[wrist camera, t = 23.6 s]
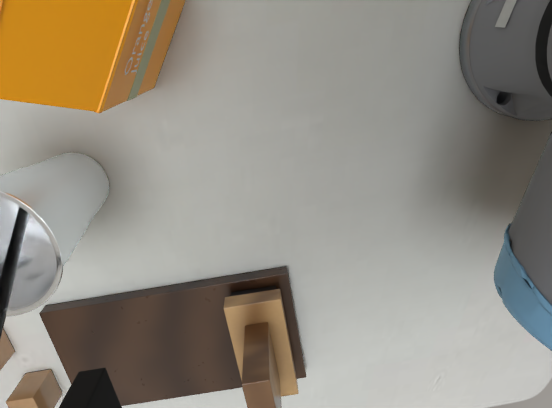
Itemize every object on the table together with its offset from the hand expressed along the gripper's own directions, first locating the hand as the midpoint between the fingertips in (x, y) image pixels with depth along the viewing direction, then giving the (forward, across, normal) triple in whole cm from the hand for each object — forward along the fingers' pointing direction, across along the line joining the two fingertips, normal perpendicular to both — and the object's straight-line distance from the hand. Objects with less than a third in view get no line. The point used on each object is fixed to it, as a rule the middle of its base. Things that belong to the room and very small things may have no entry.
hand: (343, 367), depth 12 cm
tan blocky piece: (+29, -33, -26) cm, 51 cm away
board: (+32, -16, -22) cm, 42 cm away
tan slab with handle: (+30, -6, -22) cm, 38 cm away
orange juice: (+32, -12, +12) cm, 36 cm away
